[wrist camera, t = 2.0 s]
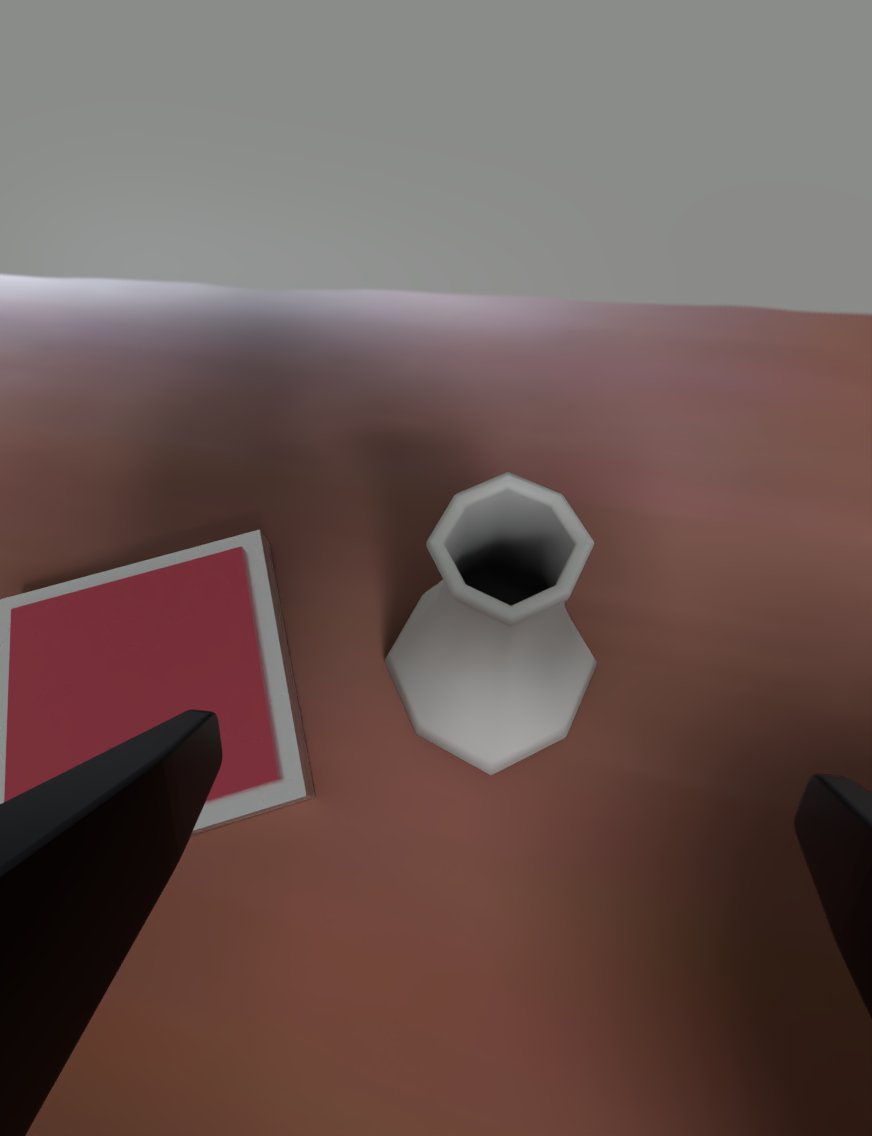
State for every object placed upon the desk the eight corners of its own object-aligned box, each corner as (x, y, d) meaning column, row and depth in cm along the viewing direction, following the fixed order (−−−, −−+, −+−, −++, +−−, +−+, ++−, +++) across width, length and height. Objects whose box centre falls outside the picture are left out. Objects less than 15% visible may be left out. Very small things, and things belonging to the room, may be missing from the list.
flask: (351, 662, 21) (261, 540, 12) (487, 539, 22) (504, 350, 13) (491, 817, 18) (518, 818, 9) (631, 666, 20) (770, 542, 11)
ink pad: (315, 796, 19) (303, 795, 17) (14, 889, 18) (-24, 895, 17) (269, 543, 23) (257, 525, 21) (21, 610, 22) (-8, 597, 21)
